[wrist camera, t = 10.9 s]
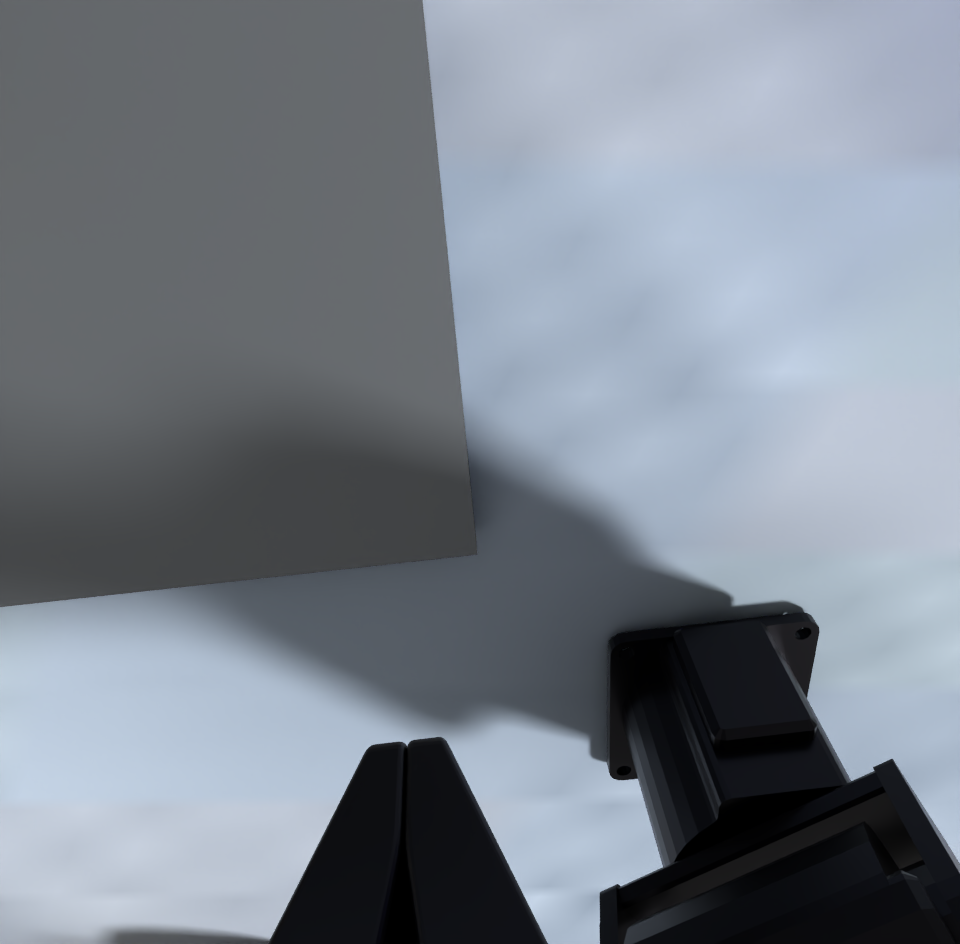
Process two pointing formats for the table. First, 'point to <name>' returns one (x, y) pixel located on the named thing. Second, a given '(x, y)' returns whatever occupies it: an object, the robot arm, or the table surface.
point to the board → (222, 296)
